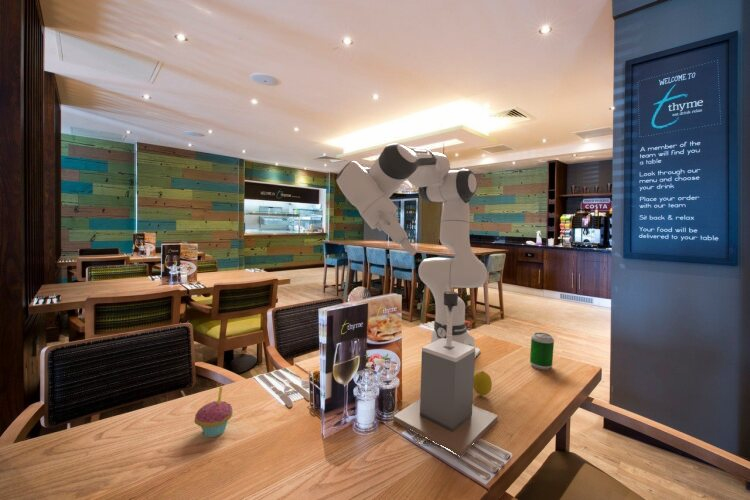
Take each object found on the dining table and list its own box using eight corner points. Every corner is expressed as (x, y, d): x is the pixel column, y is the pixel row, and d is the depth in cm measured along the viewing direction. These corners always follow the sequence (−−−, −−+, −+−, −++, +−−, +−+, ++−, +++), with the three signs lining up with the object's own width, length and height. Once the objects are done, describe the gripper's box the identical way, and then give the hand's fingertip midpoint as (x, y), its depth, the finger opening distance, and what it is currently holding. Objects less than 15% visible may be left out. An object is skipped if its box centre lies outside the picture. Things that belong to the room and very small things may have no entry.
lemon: (492, 402, 102) (493, 376, 101) (472, 399, 103) (474, 374, 102) (489, 392, 107) (491, 368, 106) (471, 390, 108) (472, 366, 107)
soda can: (556, 371, 123) (558, 339, 122) (535, 370, 123) (537, 338, 122) (545, 362, 131) (548, 331, 129) (526, 361, 131) (528, 331, 130)
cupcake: (225, 417, 91) (224, 374, 90) (238, 432, 85) (237, 386, 84) (190, 431, 85) (189, 385, 84) (202, 447, 79) (200, 398, 78)
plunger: (442, 373, 96) (445, 288, 94) (467, 382, 91) (471, 293, 88) (427, 382, 90) (430, 292, 88) (452, 392, 85) (456, 297, 83)
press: (434, 393, 106) (437, 329, 104) (497, 420, 92) (501, 347, 90) (393, 421, 91) (395, 346, 89) (460, 457, 78) (464, 371, 76)
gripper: (387, 200, 80) (425, 246, 79) (392, 210, 101) (422, 247, 100) (367, 218, 81) (404, 263, 80) (375, 224, 101) (405, 260, 100)
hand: (414, 254), depth 90 cm, fingers open, 8 cm apart
